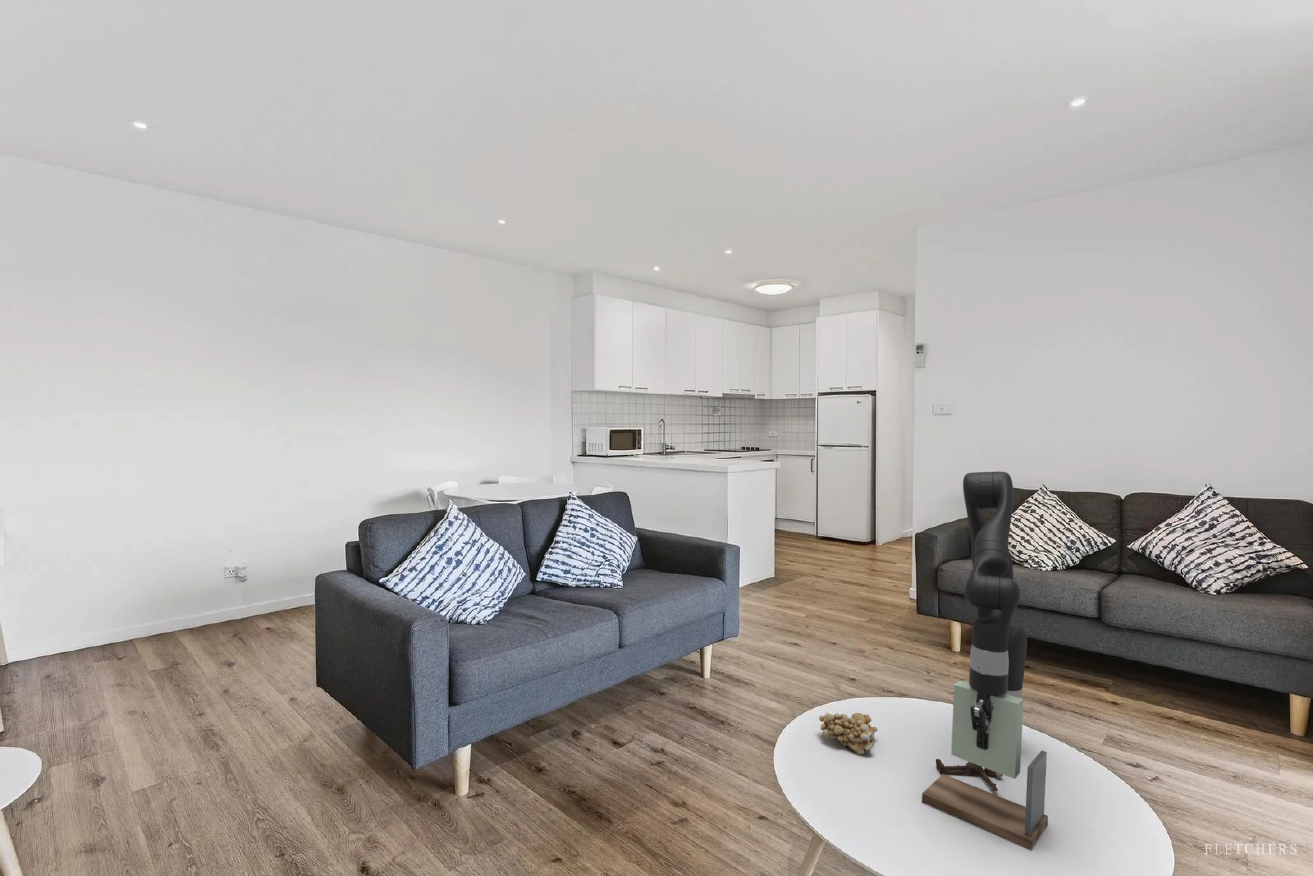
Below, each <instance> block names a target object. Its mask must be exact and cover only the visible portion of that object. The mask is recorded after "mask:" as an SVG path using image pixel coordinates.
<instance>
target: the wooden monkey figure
mask: <svg viewBox="0 0 1313 876" xmlns="http://www.w3.org/2000/svg"><path fill="white" fill-rule="evenodd" d="M935 765H936V767H935V768H936V770H937V771H938V773H939V774H940V776H941V775H942V774H945V775H947V776H951V775H953V776H957V775H958V776H959V775H969V776H970V777H971V776H972V777H975V776H980V777H982V779H984V781H986V783H987V784H988V785H989V787H990V788H991V789H992V791H993V792H995V793H996V792H998V791H999V789H998V787H997V784H996V783H993V781H992V780H991V779H990V778H995V777H998V778H1002V777H1003V776H1004V775H1003V774H1000V773H997V772H995V771H992V770H990V769H987V768H984V767H982V766H979V765H976V764H974V763H971V762H968V761H967V762H966V763H965V765H959V764H957V765H946V766H945V765H944V763H942V760H941V758H936V759H935Z"/></svg>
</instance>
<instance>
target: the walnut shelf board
mask: <svg viewBox="0 0 1313 876" xmlns="http://www.w3.org/2000/svg"><path fill="white" fill-rule="evenodd" d="M921 803H923V804H925V805H927V806H929V807H931V808H934V809H936V810H938V811H941V812H943V813H945V814H948V815H950V816H952V817H954V818H957V819H959V820H961V821H964V822H966V823H968V824H970V825H973V826H975V827H977V828H979V829H982V830H984V831H986V832H987V833H988V832H989V833H990V834H993V835H996V836H997V837H1000V838H1002V839H1005V840H1006V841H1008V842H1011V843H1014V844H1015V845H1018V846H1020V847H1022V848H1024V849H1028V850H1029V851H1032V849H1033V848H1034V846H1035V845H1036V844H1037V842H1038V841H1039V839H1040V838H1041V836H1042V834H1043V833H1044V831H1045V830H1046V828H1047V827H1048V823H1049V815H1047V814H1045V813H1044V817H1043V819H1042V820H1041V822H1040V823H1039V825H1038V826H1037V828H1036V829H1035V831H1034V832H1033V834H1032V835H1031V837H1028V836H1026V835H1025V815H1026V805H1025V806H1024V805H1022V804H1019V803H1017V802H1015V801H1012V800H1010V799H1007V798H1005V797H1002V796H999V795H998V794H994V793H991V792H989V791H987V790H986V789H985V790H984V789H983V788H980V787H977V786H975V785H973V784H970V783H967V782H964V781H962V780H959V779H958V778H957V779H956V778H955V777H953V776H951V775H945V774H942V775H941V774H940V776H939V777H938V778H936V780H935V781H933V783H932V784H931V785H929V787H927V788H926V789H925V790H924V791H923V792H922V793H921Z"/></svg>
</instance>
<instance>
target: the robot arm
mask: <svg viewBox="0 0 1313 876" xmlns="http://www.w3.org/2000/svg"><path fill="white" fill-rule="evenodd" d="M1012 480H1013V479H1012V477H1011V475H1010V474H1009V473H1008V472H1006V471H979V472H968V473H966V474H965V475H964V477H963V480H962V488H963V489H962V491H963V499H964V504H965V510H966V517H967V522H968V527H969V537H970V548H971V551H970V552H971V562H972V570H971V573H970V575H969V576H968V579H967V581H966V584H965V587H964V597H965V599H966V601H967V602H968V603H969V604H970V606H972V607H975V608H976V618H975V619H974V620H973V622H972V634H971V647H970V654H969V655H970V656H969V673H968V674H969V676H968V683H969V685H970V686H971V687H972V688H973V689H975V690H976V691H977V693H978V694H977V698H975V707H974V706H971V708H970V710H971V719H972V728H973V730H976V731H977V742H976V745H977V747H978V748H981V749H984V750H987V749H988V741H989V727H990V723H991V722H992V718H993V710H994V703H991V701H990V695H992V694H993V695H1003V694H1008V695H1011V696H1014V697H1018V698H1021V699H1023V687H1024V686H1023V684H1024V678H1025V668H1026V667H1025V666H1026V659H1027V649H1028V648H1027V647H1028V636H1027V633H1026V631H1025V629H1024V628H1023V627H1021V626H1018V625H1015V624H1014V625H1013V624H1011V623H1012V619H1013V617H1014V614H1015V611H1016V609H1017V608H1018V605H1019V602H1020V598H1021V589H1020V587H1019V585H1018V583H1017V582H1016V581H1015V580H1014V566H1013V558H1012V554H1011V552H1010V550H1009V539H1010V530H1011V523H1012V519H1013V518H1012V516H1013V509H1014V486H1013V481H1012ZM982 509H988V510H989V509H996V511H995V513H994V514H993V515H992V516H991V518H990V519H989V520H988V521H986V520H985V517H984V516H983V513H982V511H981V510H982ZM996 610H997V611H998V613H997V614H996ZM985 715H986V716H989V718H986V717H985ZM980 724H981V725H980Z"/></svg>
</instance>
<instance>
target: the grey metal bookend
mask: <svg viewBox="0 0 1313 876" xmlns="http://www.w3.org/2000/svg"><path fill="white" fill-rule="evenodd" d="M1047 756H1048V752H1047V751H1045V750H1040V752H1039V753H1038V754H1037V755H1036V757H1034V759H1033V760H1032V761H1031V762H1030V763H1029V765H1028V766H1027V769H1026V770H1027V772H1026V774H1027V775H1026V793H1025V794H1026V795H1025V796H1026V797H1025V807H1026V815H1025V835H1026V836H1028V837H1031V835H1032V834H1033V832H1034V831H1035V829H1036V828H1037V826H1038V825H1039V823H1040V822H1041V820H1042V819H1043V817H1044V814H1045V803H1046V802H1045V801H1046V800H1045V799H1046V780H1047Z"/></svg>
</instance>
